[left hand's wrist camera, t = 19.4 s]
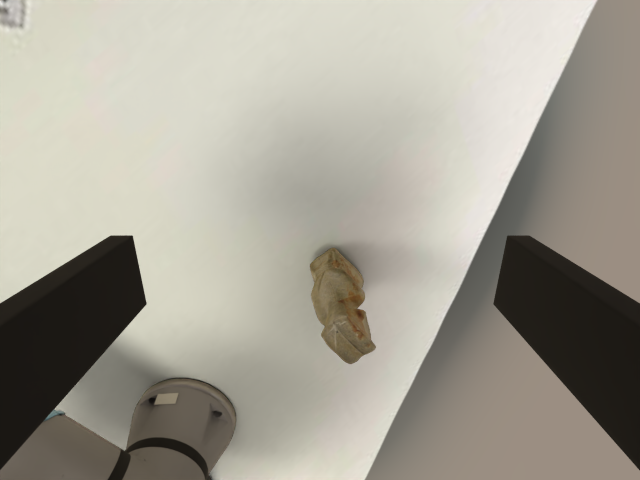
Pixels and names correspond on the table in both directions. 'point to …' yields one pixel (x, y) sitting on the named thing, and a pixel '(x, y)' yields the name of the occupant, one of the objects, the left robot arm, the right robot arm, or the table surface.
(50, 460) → the left robot arm
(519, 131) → the table surface
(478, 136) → the table surface
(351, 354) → the sculpture
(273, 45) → the table surface
